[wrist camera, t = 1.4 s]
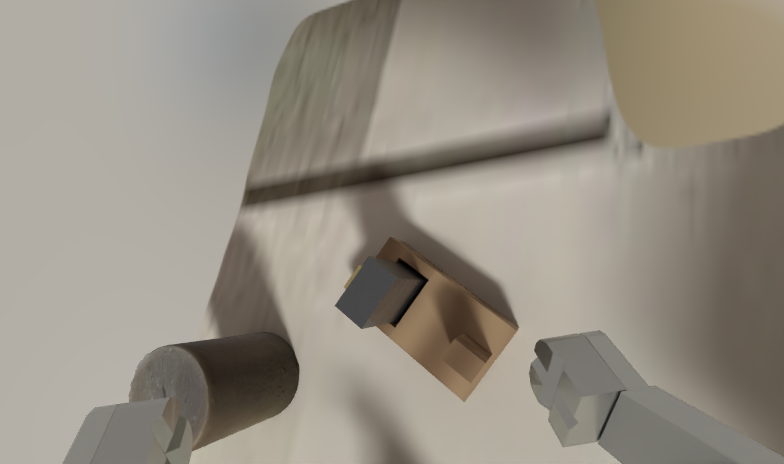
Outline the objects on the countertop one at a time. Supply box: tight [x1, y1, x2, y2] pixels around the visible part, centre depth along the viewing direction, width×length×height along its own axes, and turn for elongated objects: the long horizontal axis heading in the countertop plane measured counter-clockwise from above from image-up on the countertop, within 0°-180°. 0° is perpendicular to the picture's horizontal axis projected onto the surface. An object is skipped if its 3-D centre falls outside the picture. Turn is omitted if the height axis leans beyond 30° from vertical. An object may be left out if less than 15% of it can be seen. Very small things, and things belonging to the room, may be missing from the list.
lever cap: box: [335, 256, 429, 329], centre depth 39 cm, size 4×5×12 cm
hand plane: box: [376, 237, 519, 402], centre depth 39 cm, size 15×8×9 cm, turn 54°
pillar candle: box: [129, 333, 299, 451], centre depth 42 cm, size 10×10×15 cm
